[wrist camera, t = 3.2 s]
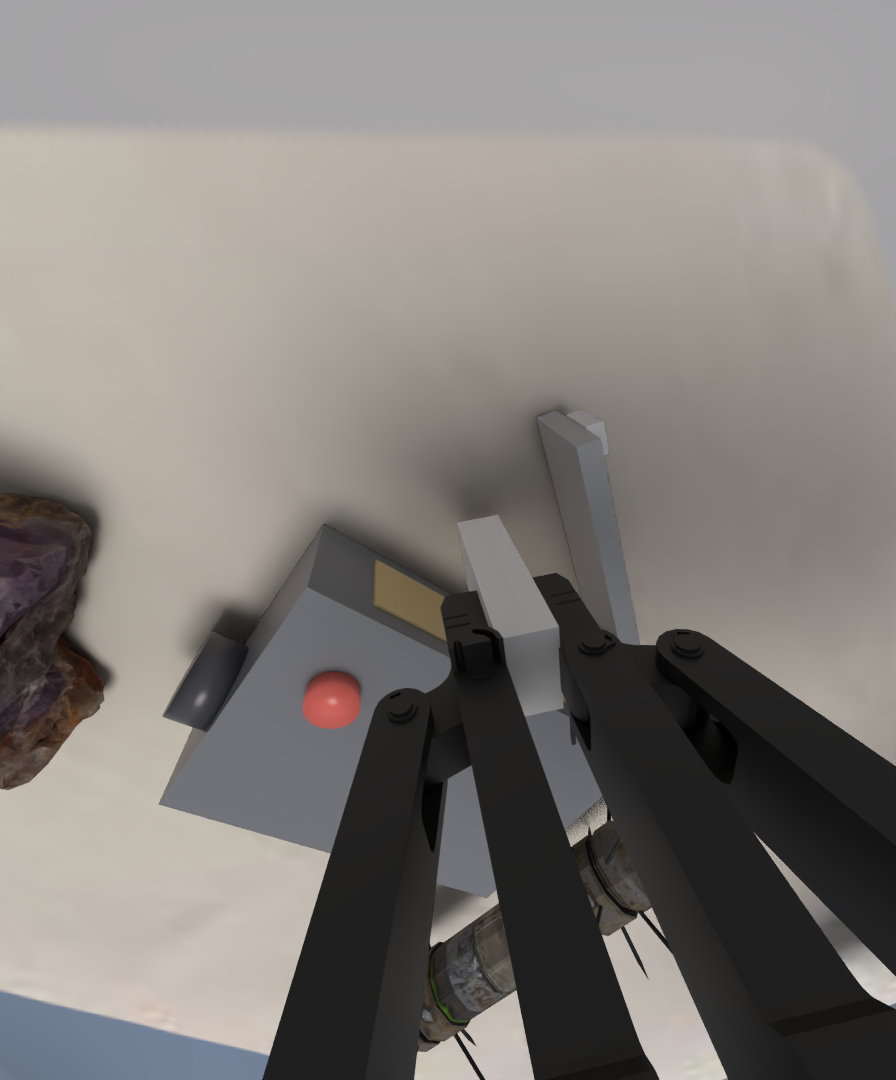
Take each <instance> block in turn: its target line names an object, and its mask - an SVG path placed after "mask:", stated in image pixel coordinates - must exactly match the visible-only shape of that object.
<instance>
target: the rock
mask: <svg viewBox="0 0 896 1080" xmlns="http://www.w3.org/2000/svg"><path fill="white" fill-rule="evenodd" d="M92 538H93V535H92V533H91V531H90V529H89V527H88V525H87V524H86V522H85V520H84V519H83V517H82V516H80V515H77V514H75V513H73V512H71V511H70V510H69V509H67V508H66V507H65V506H64V505H61V504H58V503H55V502H53V501H50V500H45V499H40V498H34V497H28V496H23V495H18V494H0V789H5V790H10V789H12V788H15V787H18V786H20V785H23V784H25V783H28V782H30V781H31V780H32V779H33V778H34V777H35V776H36V775H37V774H38V773H39V772H40V771H41V770H42V769H43V768H44V767H45V766H46V765H47V764H48V763H49V762H50V760H51V759H52V758H53V757H54V755H55V754H56V753H57V751H58V750H59V748H60V747H61V746H62V744H63V743H64V742H65V741H66V739H67V738H68V737H69V735H70V734H71V733H72V731H73V730H74V728H75V727H76V726H77V725H78V724H79V723H80V722H81V721H82V720H83V719H86V718H88V717H90V716H93V715H94V714H95V713H96V712H97V711H98V710H99V709H100V704H101V703H102V702H103V701H104V695H103V688H104V683H105V682H104V681H103V680H102V679H101V678H100V677H99V676H98V675H97V674H96V673H95V671H94V669H93V667H92V665H91V664H90V663H89V662H88V661H87V660H86V659H85V658H83V657H80V656H78V655H77V654H75V653H74V652H72V651H71V650H69V646H70V643H69V642H68V641H67V640H66V639H64V638H63V637H62V636H60V635H61V633H62V632H63V631H64V630H66V629H67V627H68V626H69V624H70V622H71V621H72V619H73V617H74V609H75V608H76V598H75V595H74V594H73V592H74V590H75V588H76V585H77V583H78V580H79V578H81V577H82V576H84V575H85V574H86V571H87V566H88V550H89V548H90V545H91V542H92Z"/></svg>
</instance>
